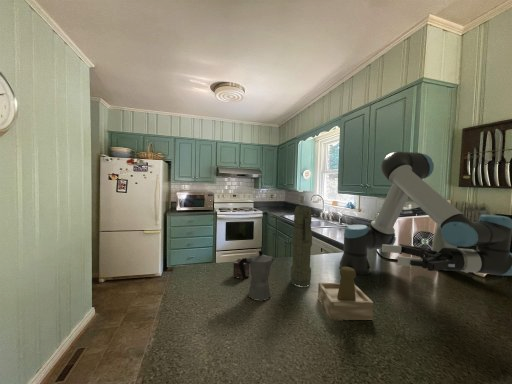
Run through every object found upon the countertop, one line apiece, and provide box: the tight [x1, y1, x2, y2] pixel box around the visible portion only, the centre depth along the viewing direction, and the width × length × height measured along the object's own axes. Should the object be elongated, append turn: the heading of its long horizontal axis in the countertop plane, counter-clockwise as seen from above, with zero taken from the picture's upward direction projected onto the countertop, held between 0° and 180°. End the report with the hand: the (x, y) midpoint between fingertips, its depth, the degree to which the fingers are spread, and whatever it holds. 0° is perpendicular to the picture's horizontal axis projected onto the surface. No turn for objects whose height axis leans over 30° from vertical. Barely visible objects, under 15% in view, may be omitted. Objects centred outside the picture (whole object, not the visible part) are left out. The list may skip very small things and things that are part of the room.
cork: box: [337, 267, 357, 301], centre depth 76 cm, size 6×6×11 cm
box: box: [232, 258, 250, 278], centre depth 105 cm, size 6×6×7 cm
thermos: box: [290, 204, 313, 286], centre depth 99 cm, size 9×12×35 cm
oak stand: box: [317, 282, 374, 320], centre depth 79 cm, size 14×14×6 cm
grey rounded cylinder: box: [431, 223, 458, 272], centre depth 120 cm, size 10×10×28 cm
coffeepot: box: [239, 250, 277, 300], centre depth 87 cm, size 15×9×18 cm, turn 110°
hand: (389, 253), depth 79 cm, fingers open, 13 cm apart
